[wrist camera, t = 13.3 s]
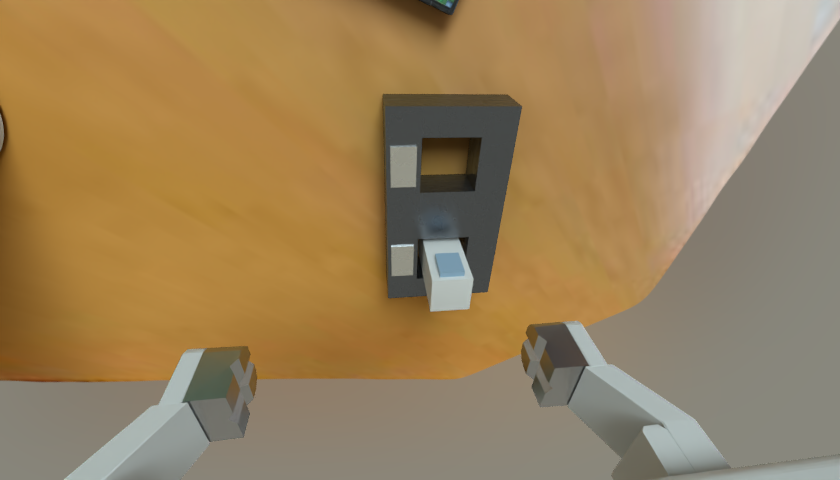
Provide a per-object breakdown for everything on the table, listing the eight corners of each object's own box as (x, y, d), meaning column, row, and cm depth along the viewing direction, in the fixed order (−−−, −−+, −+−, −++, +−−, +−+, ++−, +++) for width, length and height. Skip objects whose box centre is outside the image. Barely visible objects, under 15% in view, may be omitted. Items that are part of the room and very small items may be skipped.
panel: (386, 276, 47) (388, 299, 44) (382, 94, 35) (385, 107, 31) (479, 271, 49) (487, 293, 45) (507, 94, 36) (522, 107, 33)
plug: (418, 252, 46) (430, 311, 38) (419, 220, 43) (432, 276, 35) (450, 250, 46) (469, 308, 38) (453, 218, 44) (474, 274, 36)
